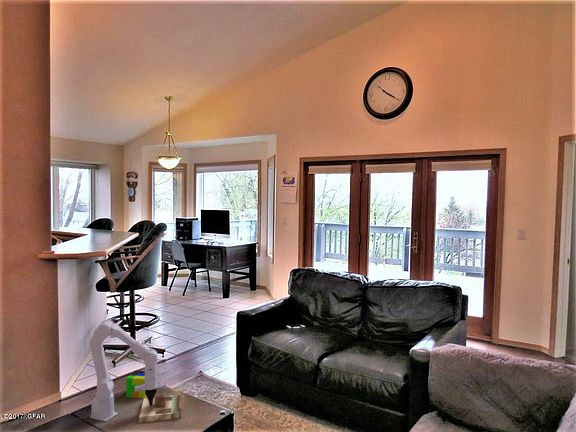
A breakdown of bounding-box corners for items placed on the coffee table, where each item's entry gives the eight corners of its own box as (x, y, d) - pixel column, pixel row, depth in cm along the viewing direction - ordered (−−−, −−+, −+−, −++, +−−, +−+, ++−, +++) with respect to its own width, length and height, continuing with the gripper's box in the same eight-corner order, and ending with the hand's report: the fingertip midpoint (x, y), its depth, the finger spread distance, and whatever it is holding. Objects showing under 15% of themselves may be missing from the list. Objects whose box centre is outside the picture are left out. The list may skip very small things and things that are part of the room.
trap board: (139, 422, 183) (139, 412, 183) (144, 403, 201) (144, 394, 201) (181, 417, 187) (181, 408, 187) (182, 399, 206) (182, 390, 206)
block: (154, 408, 191) (154, 397, 191) (155, 403, 196) (155, 393, 196) (165, 407, 192) (165, 396, 192) (166, 402, 197) (166, 392, 197)
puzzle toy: (153, 389, 217) (153, 371, 217) (144, 398, 207) (144, 378, 207) (135, 389, 218) (135, 370, 218) (126, 397, 208) (126, 378, 208)
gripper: (167, 371, 199) (167, 399, 199) (136, 374, 195) (136, 402, 195) (166, 377, 192) (166, 405, 192) (134, 380, 188) (134, 409, 188)
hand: (151, 404), depth 193 cm, fingers closed
